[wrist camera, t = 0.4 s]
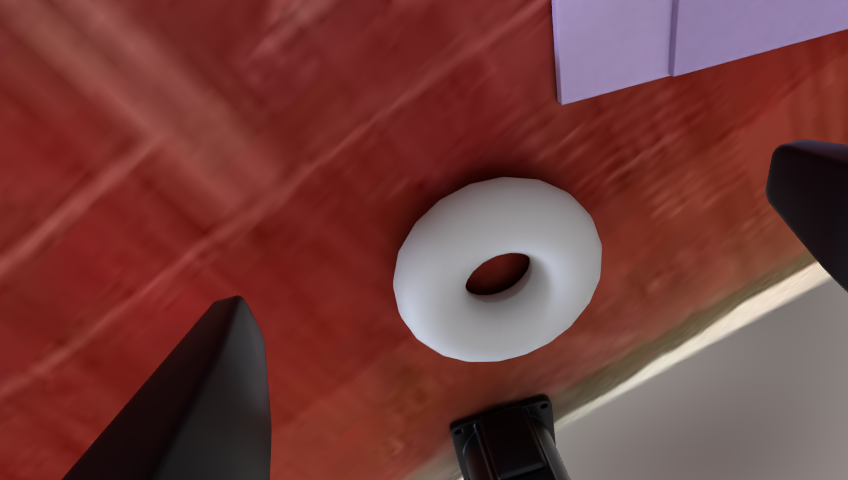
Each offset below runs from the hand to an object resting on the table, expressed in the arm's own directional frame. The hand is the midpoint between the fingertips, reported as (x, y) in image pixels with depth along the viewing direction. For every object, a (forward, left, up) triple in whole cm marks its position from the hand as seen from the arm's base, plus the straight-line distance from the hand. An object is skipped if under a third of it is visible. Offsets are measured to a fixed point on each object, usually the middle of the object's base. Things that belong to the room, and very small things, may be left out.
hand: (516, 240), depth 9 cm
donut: (-11, -2, -14) cm, 18 cm away
